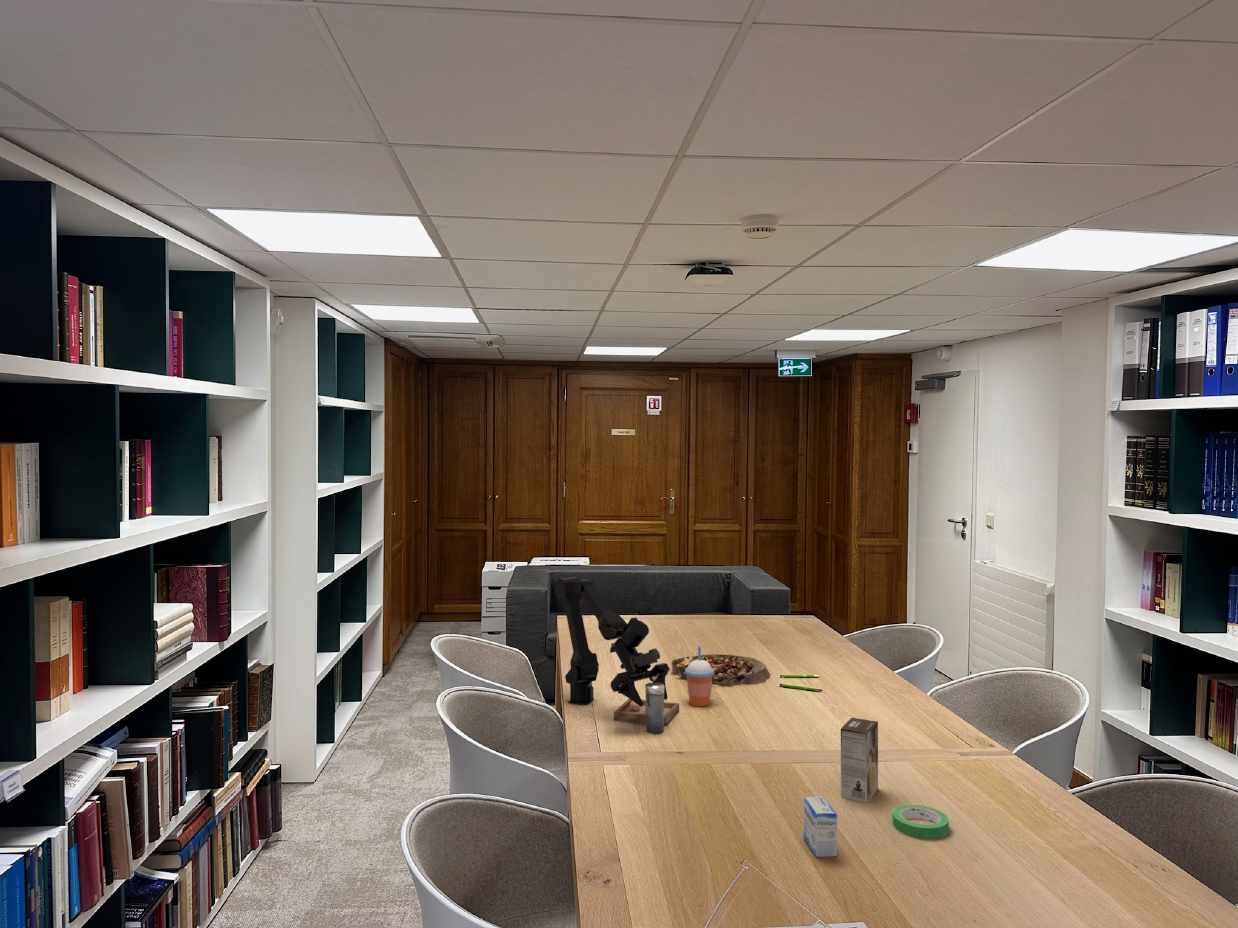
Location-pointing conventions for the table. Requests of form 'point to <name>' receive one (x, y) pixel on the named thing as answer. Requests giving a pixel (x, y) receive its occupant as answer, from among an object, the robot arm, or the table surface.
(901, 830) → the tape roll
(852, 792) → the coffee box
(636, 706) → the ball
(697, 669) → the cup with straw
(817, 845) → the medicine box
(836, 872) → the table surface
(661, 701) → the shaker
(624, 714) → the tray
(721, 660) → the food dish
